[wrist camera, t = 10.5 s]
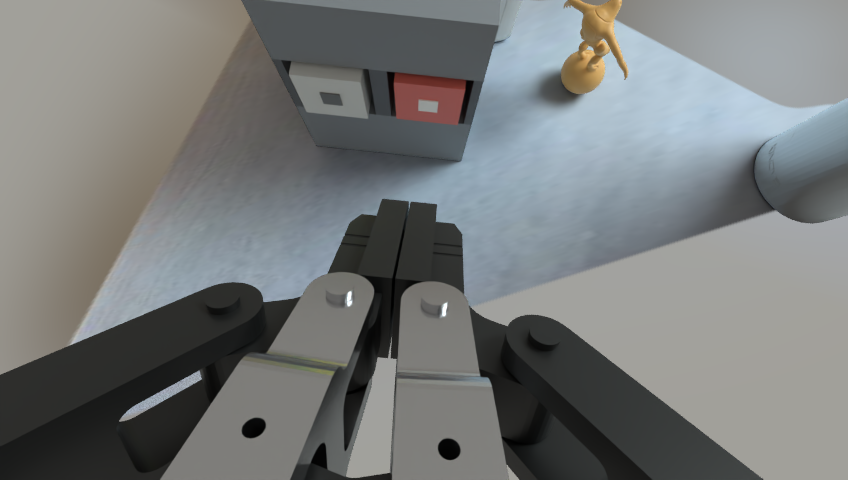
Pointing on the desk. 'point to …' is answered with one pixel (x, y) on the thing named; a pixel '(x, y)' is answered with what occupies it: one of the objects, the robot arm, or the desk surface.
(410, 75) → the red button
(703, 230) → the desk surface
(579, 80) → the figurine
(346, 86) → the grey button
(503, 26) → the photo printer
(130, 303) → the desk surface
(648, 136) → the desk surface
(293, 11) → the grey drawer cabinet
